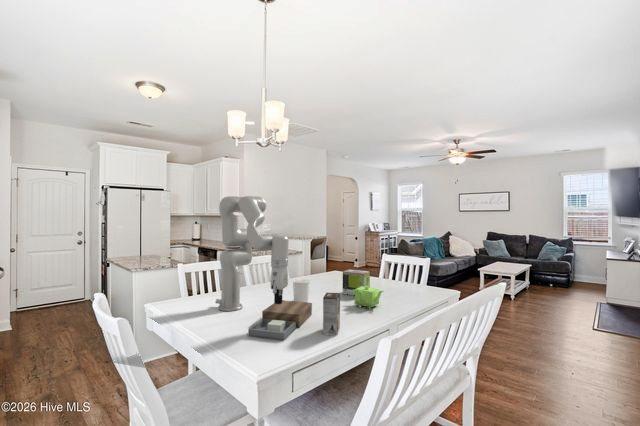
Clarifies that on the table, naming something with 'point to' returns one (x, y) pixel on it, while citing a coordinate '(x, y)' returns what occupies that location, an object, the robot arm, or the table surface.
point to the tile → (276, 325)
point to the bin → (262, 332)
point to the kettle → (366, 296)
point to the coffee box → (331, 313)
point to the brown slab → (289, 312)
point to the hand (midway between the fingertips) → (278, 303)
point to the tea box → (355, 280)
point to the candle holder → (301, 290)
